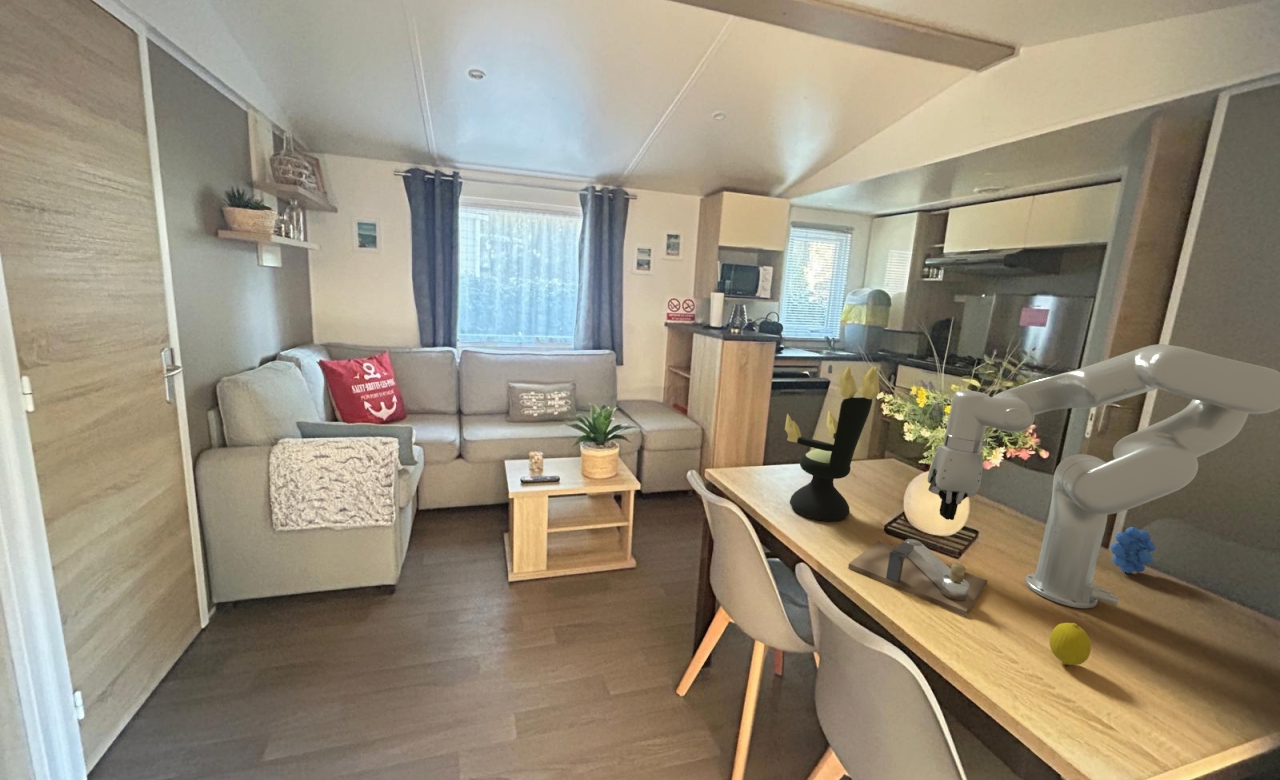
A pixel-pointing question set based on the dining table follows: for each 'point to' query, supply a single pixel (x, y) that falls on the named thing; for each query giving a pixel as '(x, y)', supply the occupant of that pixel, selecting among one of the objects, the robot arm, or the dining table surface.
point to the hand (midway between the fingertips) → (946, 517)
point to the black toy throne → (833, 451)
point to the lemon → (1070, 644)
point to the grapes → (1132, 550)
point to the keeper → (898, 561)
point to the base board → (917, 578)
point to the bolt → (937, 571)
